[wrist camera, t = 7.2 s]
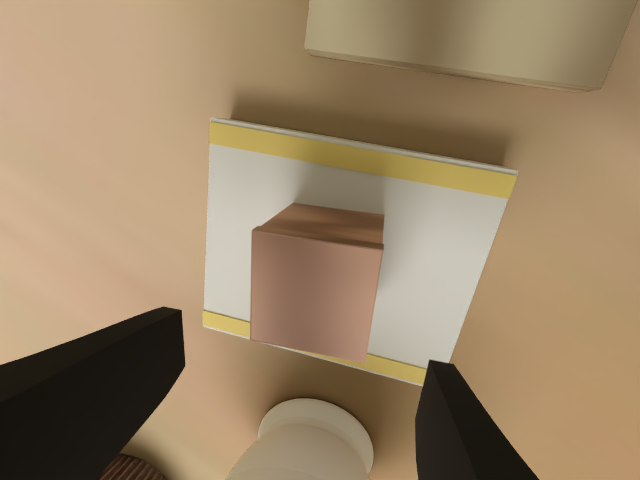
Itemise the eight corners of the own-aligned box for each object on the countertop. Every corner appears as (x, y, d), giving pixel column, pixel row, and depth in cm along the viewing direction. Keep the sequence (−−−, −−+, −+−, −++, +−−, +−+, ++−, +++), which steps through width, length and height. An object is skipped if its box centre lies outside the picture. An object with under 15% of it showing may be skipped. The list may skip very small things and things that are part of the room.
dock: (503, 166, 15) (519, 171, 14) (433, 366, 20) (438, 392, 18) (230, 119, 17) (209, 117, 15) (219, 309, 22) (202, 327, 20)
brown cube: (385, 214, 15) (383, 250, 11) (372, 299, 17) (365, 363, 12) (291, 201, 16) (251, 230, 11) (287, 284, 18) (249, 339, 13)
